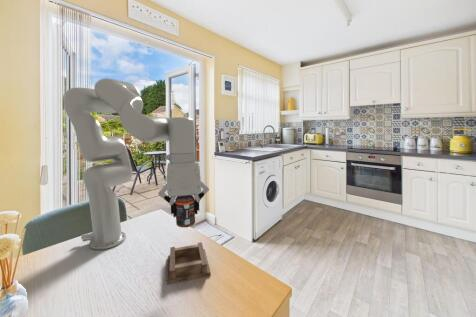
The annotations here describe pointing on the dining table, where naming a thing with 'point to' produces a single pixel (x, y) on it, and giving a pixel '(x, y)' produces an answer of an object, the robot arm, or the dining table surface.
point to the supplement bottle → (185, 211)
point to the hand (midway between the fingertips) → (185, 213)
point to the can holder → (187, 263)
